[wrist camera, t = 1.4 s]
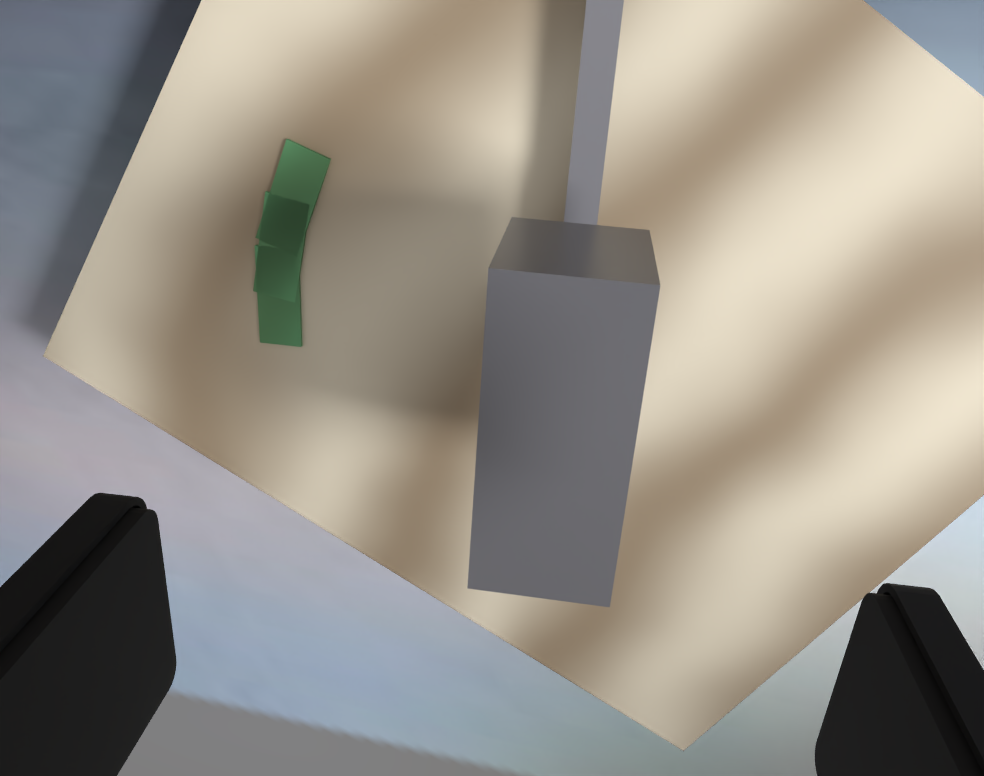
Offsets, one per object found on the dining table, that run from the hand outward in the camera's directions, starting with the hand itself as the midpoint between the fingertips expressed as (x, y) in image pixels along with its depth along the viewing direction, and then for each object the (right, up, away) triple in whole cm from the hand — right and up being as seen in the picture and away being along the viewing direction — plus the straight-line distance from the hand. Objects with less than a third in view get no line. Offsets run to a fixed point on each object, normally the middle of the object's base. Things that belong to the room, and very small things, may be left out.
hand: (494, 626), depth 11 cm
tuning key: (+2, +7, +10) cm, 12 cm away
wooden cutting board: (+2, +6, +13) cm, 14 cm away
